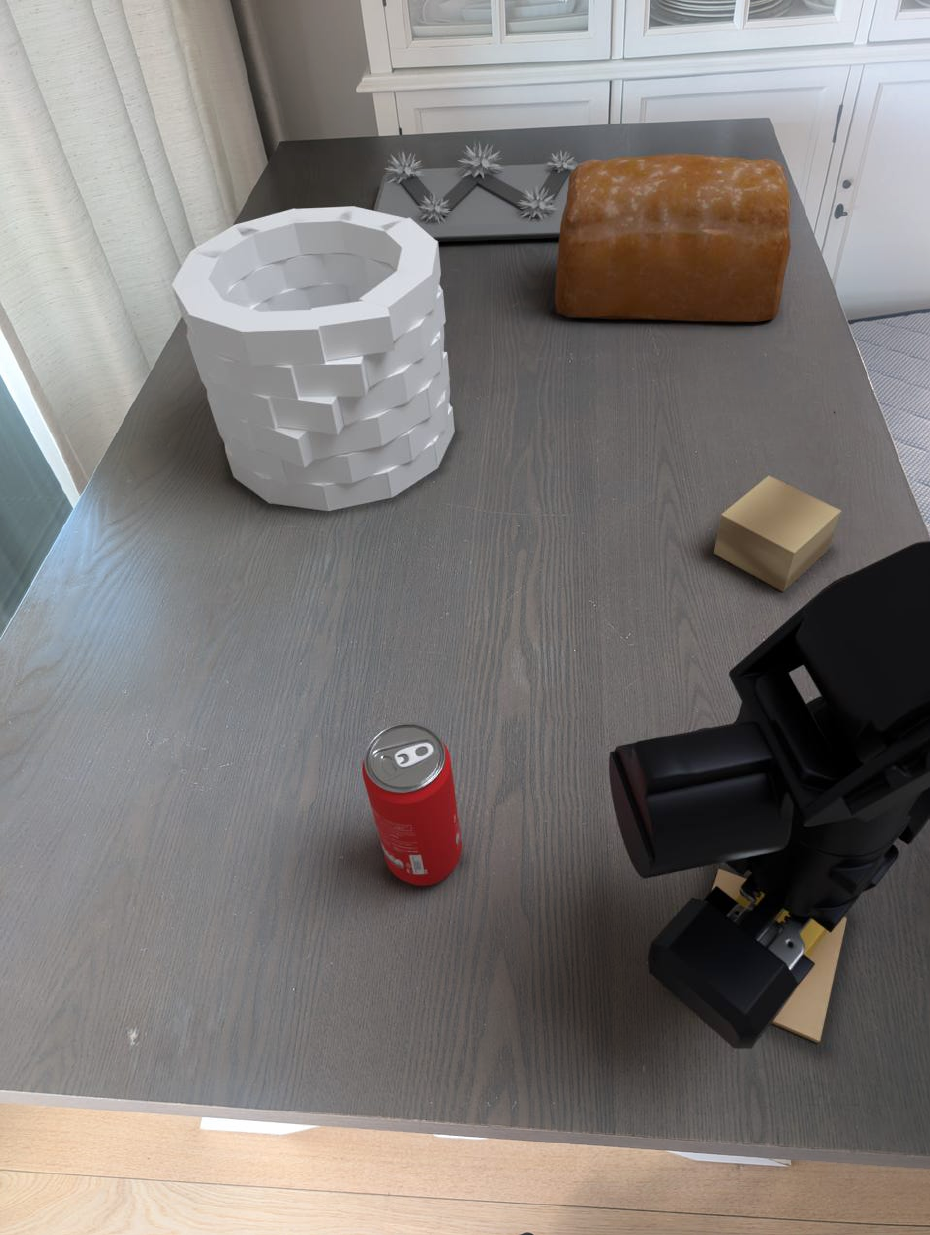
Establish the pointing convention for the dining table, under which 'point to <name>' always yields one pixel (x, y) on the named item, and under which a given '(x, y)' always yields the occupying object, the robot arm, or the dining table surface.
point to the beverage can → (413, 803)
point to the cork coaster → (814, 991)
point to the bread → (674, 239)
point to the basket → (322, 353)
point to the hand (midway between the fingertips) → (771, 938)
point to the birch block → (776, 532)
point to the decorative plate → (479, 197)
